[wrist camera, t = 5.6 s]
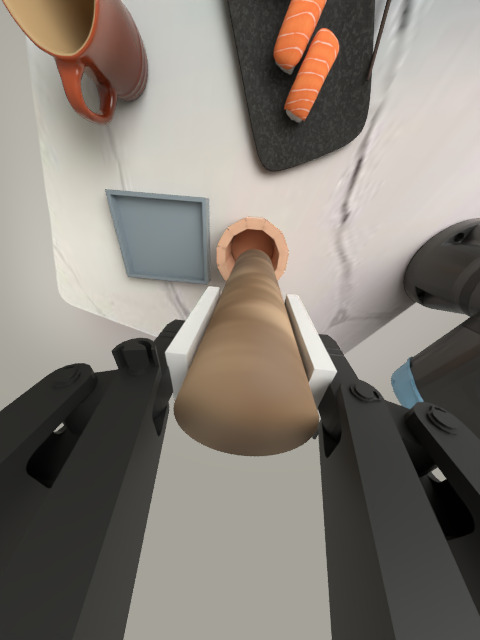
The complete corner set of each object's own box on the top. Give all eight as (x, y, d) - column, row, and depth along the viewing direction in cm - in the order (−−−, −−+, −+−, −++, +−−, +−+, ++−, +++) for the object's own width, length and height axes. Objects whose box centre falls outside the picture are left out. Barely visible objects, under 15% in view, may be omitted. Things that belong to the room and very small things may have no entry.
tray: (208, 198, 29) (205, 197, 27) (210, 280, 37) (207, 284, 35) (114, 190, 30) (104, 189, 28) (134, 273, 37) (127, 276, 35)
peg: (275, 251, 20) (342, 383, 4) (269, 289, 22) (298, 462, 7) (235, 247, 20) (163, 363, 4) (233, 285, 22) (180, 447, 7)
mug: (79, -11, 20) (-58, -185, 11) (156, 13, 20) (82, -136, 12) (99, 135, 26) (22, 96, 17) (158, 151, 27) (111, 121, 18)
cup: (285, 219, 30) (295, 221, 22) (274, 277, 35) (280, 295, 28) (226, 214, 30) (216, 215, 23) (224, 272, 35) (216, 288, 28)
